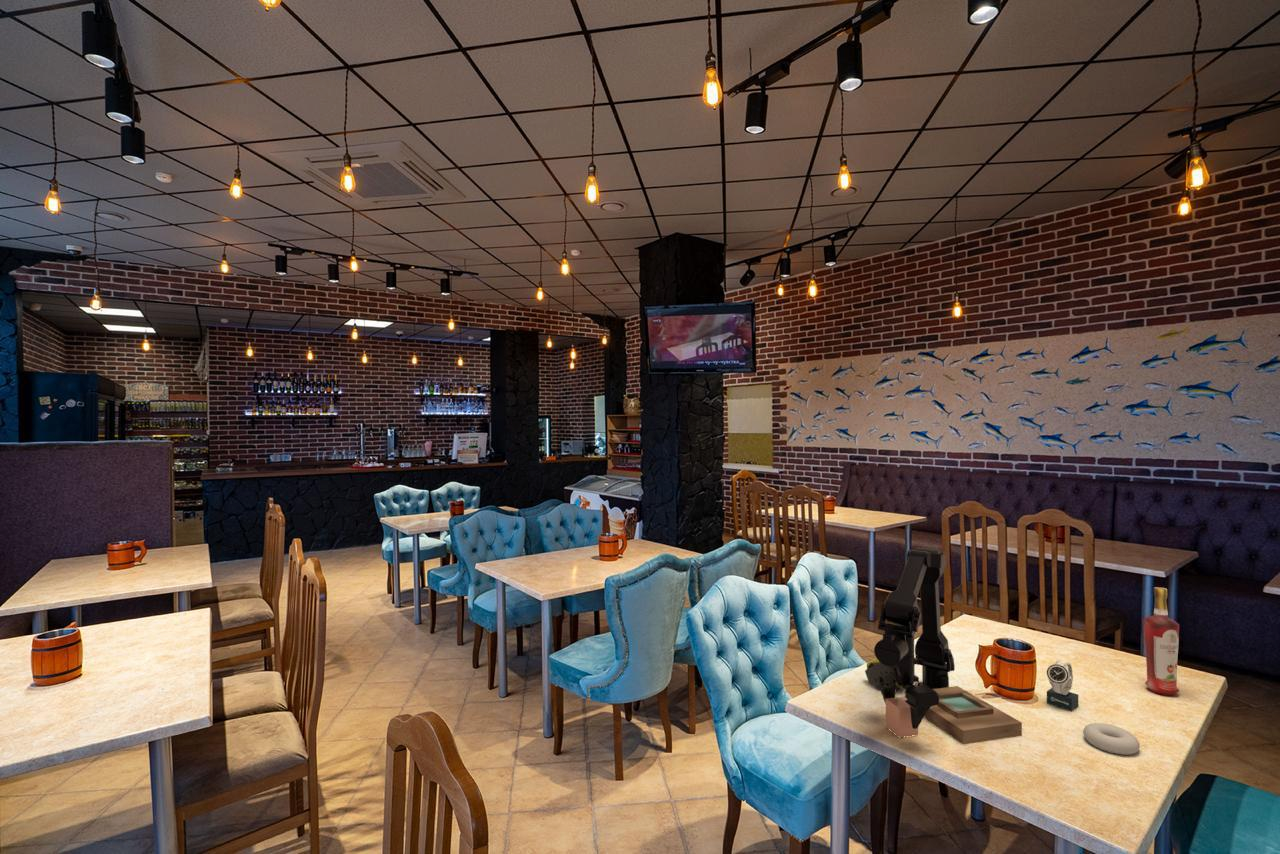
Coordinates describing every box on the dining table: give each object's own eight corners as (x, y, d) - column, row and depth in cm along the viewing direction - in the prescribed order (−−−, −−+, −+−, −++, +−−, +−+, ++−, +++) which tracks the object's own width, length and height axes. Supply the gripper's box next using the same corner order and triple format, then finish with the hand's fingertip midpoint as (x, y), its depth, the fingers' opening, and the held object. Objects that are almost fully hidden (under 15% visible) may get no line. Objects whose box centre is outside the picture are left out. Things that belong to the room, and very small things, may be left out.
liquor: (1165, 686, 162) (1164, 585, 162) (1187, 698, 154) (1186, 592, 154) (1137, 685, 162) (1135, 584, 162) (1157, 697, 155) (1156, 591, 155)
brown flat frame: (905, 703, 152) (905, 687, 152) (957, 697, 156) (957, 681, 156) (963, 743, 133) (963, 725, 133) (1021, 735, 136) (1021, 717, 136)
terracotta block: (885, 727, 140) (885, 698, 140) (904, 725, 141) (903, 696, 141) (899, 738, 135) (899, 708, 135) (918, 735, 136) (917, 705, 136)
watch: (1043, 705, 151) (1043, 662, 151) (1056, 697, 156) (1055, 655, 156) (1069, 713, 146) (1068, 669, 146) (1081, 705, 151) (1081, 662, 151)
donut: (1072, 738, 135) (1117, 761, 126) (1071, 723, 136) (1117, 744, 126) (1104, 732, 138) (1151, 754, 128) (1104, 717, 138) (1151, 738, 129)
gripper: (848, 641, 146) (848, 704, 146) (896, 671, 128) (897, 743, 128) (887, 638, 148) (888, 699, 148) (940, 667, 130) (941, 737, 130)
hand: (901, 718), depth 138 cm, fingers open, 9 cm apart
